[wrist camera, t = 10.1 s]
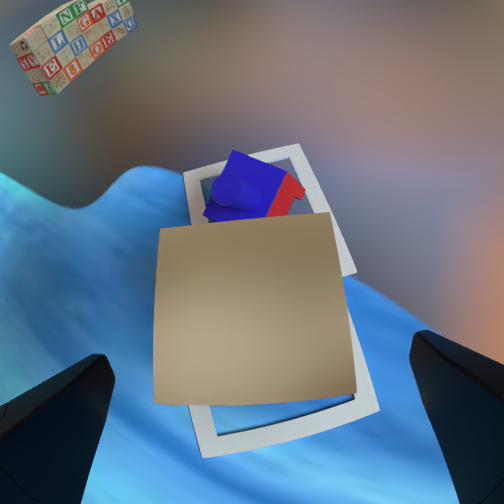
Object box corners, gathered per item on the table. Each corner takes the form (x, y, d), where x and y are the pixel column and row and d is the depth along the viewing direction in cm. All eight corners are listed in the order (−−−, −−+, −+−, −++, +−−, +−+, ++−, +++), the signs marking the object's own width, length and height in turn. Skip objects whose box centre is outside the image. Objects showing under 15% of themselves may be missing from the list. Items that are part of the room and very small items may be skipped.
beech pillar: (311, 389, 16) (357, 393, 6) (231, 395, 16) (153, 403, 6) (304, 314, 18) (329, 211, 8) (228, 320, 18) (160, 228, 8)
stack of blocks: (116, 30, 43) (98, -17, 32) (138, 27, 42) (121, -24, 31) (39, 96, 36) (7, 44, 25) (57, 95, 34) (24, 36, 23)
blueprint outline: (400, 401, 15) (401, 401, 14) (203, 457, 14) (202, 458, 14) (298, 144, 23) (298, 143, 23) (155, 182, 23) (154, 181, 23)
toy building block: (237, 222, 22) (174, 209, 15) (262, 170, 22) (209, 133, 14) (280, 244, 21) (232, 241, 14) (306, 189, 21) (272, 156, 13)
